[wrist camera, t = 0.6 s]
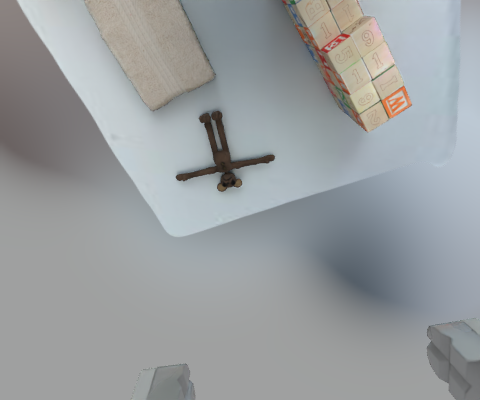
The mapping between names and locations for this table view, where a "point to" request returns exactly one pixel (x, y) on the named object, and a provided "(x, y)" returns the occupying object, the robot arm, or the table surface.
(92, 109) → the table surface
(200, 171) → the brown toy monkey
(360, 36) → the stack of blocks
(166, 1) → the washcloth
